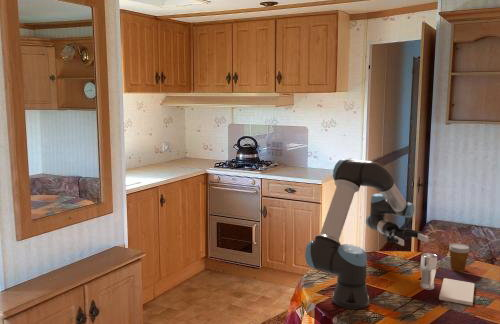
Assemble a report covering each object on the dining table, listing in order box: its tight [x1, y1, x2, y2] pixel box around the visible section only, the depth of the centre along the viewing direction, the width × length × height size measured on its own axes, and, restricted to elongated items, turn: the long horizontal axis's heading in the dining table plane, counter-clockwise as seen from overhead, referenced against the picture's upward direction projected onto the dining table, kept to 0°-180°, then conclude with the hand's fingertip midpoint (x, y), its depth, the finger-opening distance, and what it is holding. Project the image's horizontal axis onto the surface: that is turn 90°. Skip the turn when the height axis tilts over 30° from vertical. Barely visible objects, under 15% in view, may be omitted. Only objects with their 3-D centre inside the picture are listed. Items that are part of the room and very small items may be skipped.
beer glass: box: [419, 252, 438, 291], centre depth 213 cm, size 7×7×15 cm
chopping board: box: [438, 277, 475, 306], centre depth 209 cm, size 22×13×2 cm, turn 153°
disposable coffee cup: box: [448, 242, 471, 272], centre depth 235 cm, size 10×10×12 cm
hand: (415, 241), depth 221 cm, fingers open, 13 cm apart
